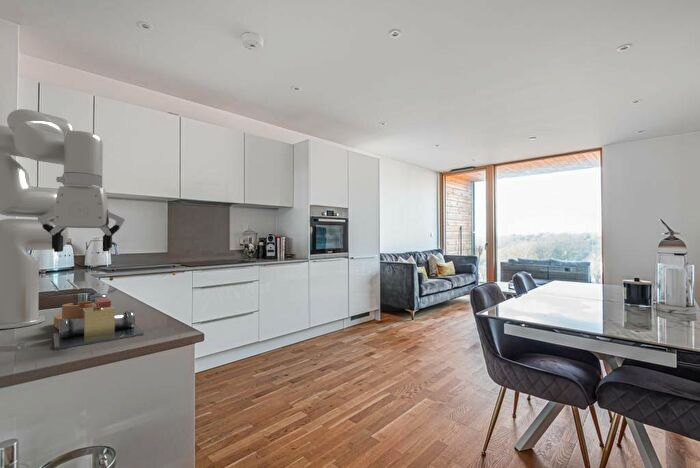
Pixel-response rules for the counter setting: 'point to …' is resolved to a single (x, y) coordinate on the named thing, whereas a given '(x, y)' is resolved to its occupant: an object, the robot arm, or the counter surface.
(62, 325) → the valve
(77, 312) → the bracket
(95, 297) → the lever
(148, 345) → the counter surface
